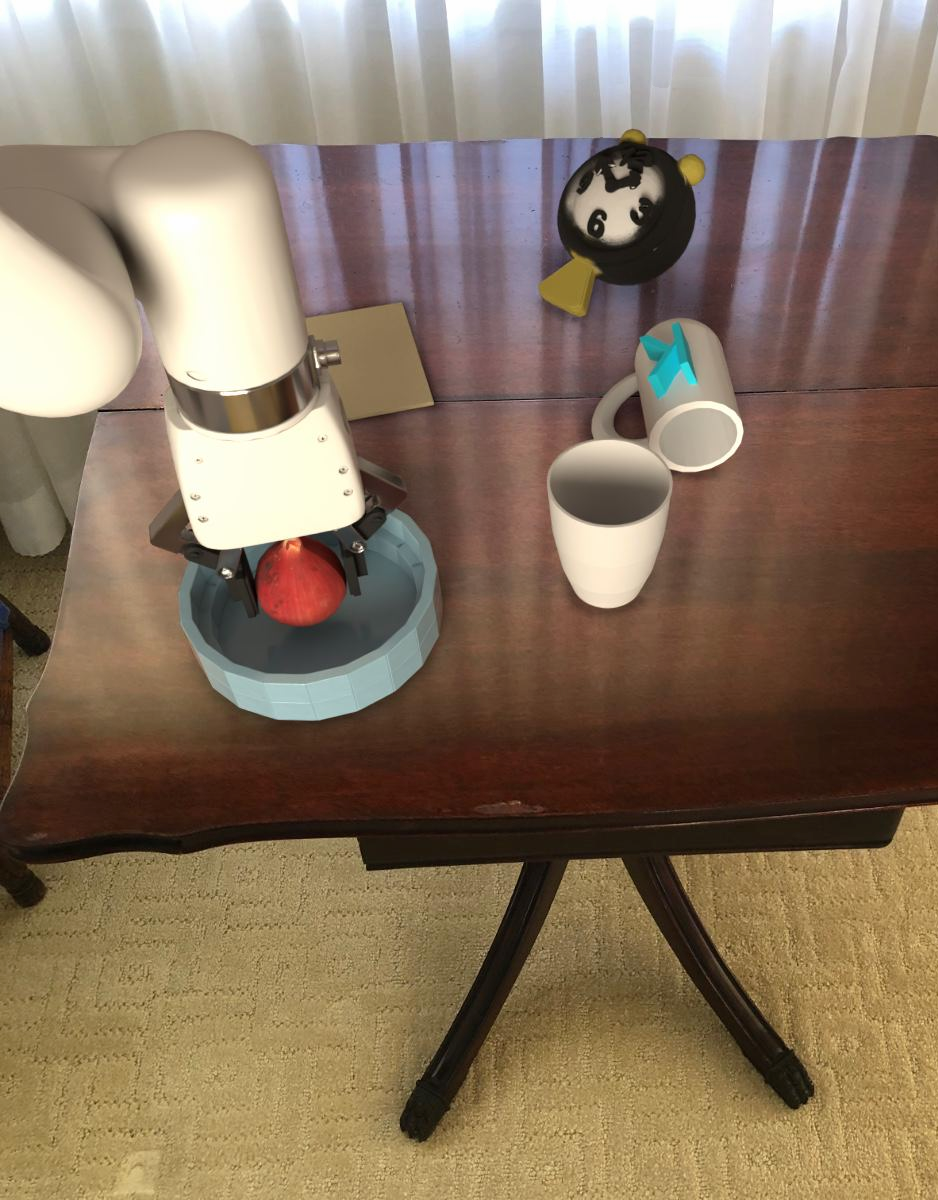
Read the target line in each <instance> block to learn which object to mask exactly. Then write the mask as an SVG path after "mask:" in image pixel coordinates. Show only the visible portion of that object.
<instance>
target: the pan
mask: <svg viewBox="0 0 938 1200" xmlns="http://www.w3.org/2000/svg"><path fill="white" fill-rule="evenodd" d="M368 496H369V495H367V494H364V497H365V498H366V497H368ZM386 518H387V520H386V522H385V523H384V524H383V525H382V526H381V527H380V528H379V529H378V530H377V531H376V532H375V533H374V534H373V535H372V536H371V537H370V538H369V539H368V540H367V541H366V542H367V548H366V550H365V551H364V556H365V561H366V566H367V571H368V575H366V576H361V577H358V581H359V586H360V590H361V595H360V596H355V597H354V595H350V591H349V587H348V582H347V587H346V596H345V597H344V599H343V601H342V603H341V604H340V606H339V608H338V609H337V611H336V612H335V613H334V614H333V615H332V616H330V617H329V618H328V619H326V620H325V621H323V622H320V623H317V624H315V625H312V626H301V627H296V626H291V625H286V624H282V623H280V622H277V621H276V620H275V619H273V618H272V617H271V616H269V615H268V614H267V613H265V612H264V610H263V609H262V607H261V605H260V603H259V601H258V607H259V614H257V617H252V618H248V616H247V613H246V610H245V607H244V604H243V601H237V602H233V601H232V598H231V595H230V592H229V590H228V587H227V584H226V581H225V579H221V578H219V577H218V576H217V575H216V570H213V569H211V568H208V567H205V566H202V565H199V564H197V563H194V562H191V561H189V560H188V562H187V564H186V568H185V570H184V573H183V576H182V579H181V582H180V584H179V588H178V591H177V601H178V613H179V614H178V615H179V624H180V626H181V629H182V631H183V633H184V635H185V638H186V639H187V641H188V645H189V647H190V649H191V650H192V653H193V655H194V657H195V659H196V661H197V663H198V665H199V666H200V668H201V671H202V672H203V673H204V675H205V677H206V679H207V681H208V682H209V684H210V686H211V687H212V689H214V690H215V691H217V693H219V694H220V695H222V696H223V697H224V698H225V699H227V700H228V701H230V702H231V703H233V704H234V705H235V706H236V707H237V708H239V709H243V710H245V711H248V712H251V713H254V714H257V715H260V716H263V717H267V718H269V719H273V720H276V721H277V720H278V721H312V722H313V721H314V722H315V721H322V720H326V719H332V718H334V717H339V716H343V715H347V714H351V713H356V712H359V711H361V710H363V709H365V708H367V707H369V706H370V705H372V704H374V703H377V702H378V701H380V700H382V699H384V698H386V697H388V696H389V695H392V694H393V693H394V692H396V691H398V689H400V688H401V687H402V686H403V685H404V684H405V683H406V682H407V681H408V680H409V679H410V678H411V677H413V676H414V674H416V673H417V672H418V671H419V670H420V669H421V668H422V667H423V666H424V664H425V662H426V660H427V659H428V656H429V655H430V653H431V651H432V649H433V648H434V646H435V644H436V642H437V640H438V638H439V637H440V631H441V624H442V618H443V617H442V616H443V609H444V604H443V597H442V596H443V595H442V591H441V590H442V589H441V584H440V578H439V570H438V566H437V562H436V558H435V555H434V552H433V548H432V544H431V541H430V539H429V538H428V536H426V534H425V533H424V532H423V530H422V529H421V528H420V527H419V526H418V524H417V523H416V521H415V520H414V519H413V518H412V517H411V516H410V515H408V514H407V513H405V512H403V511H402V510H400V509H398V507H397V508H396V509H395V510H394V511H393V512H392V513H389V514H388V515H387V516H386ZM306 537H309V538H312V539H315V540H318V541H320V542H322V543H324V544H325V545H326V546H328V547H329V548H330V549H332V550H333V551H334V552H335V553H336V554H337V556H338V558H339V560H340V562H341V564H342V566H343V568H344V565H343V560H342V556H341V551H340V546H339V541H338V538H337V537H336V536H335V535H334V534H333V532H332V531H331V530H330V531H325V532H320V533H316V534H311V535H306ZM276 542H277V541H274V542H269V543H264V544H258V545H253V546H247V547H244V550H245V553H246V556H247V559H248V562H249V565H250V568H251V572H252V575H253V578H254V579H255V574H256V569H257V564H258V561H259V559H260V557H261V556H262V555H263V554H264V552H265V551H266V550H267V549H268V548H269V547H270V546H272V545H273V544H274V543H276ZM344 570H345V569H344ZM257 600H258V598H257Z"/></svg>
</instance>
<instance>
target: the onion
mask: <svg viewBox="0 0 938 1200" xmlns="http://www.w3.org/2000/svg"><path fill="white" fill-rule="evenodd" d="M346 587H347V578H346V573H345V570H344V568H343V566H342V564H341V562H340V560H339V558H338V556H337V554H336V553H335V552H334V551H333V550H332V549H330V548H329V547H328V546H326V545H325V544H324V543H322V542H320V541H318V540H315V539H312V538H309V537H306V536H300V537H295V538H290V539H285V540H280V541H277V542H276V543H274V544H273V545H272V546H270V547H269V548H268V549H267V550H266V551H265V552H264V554H263V555H262V556H261V557H260V559H259V561H258V564H257V569H256V574H255V579H254V589H255V593H256V595H257V598H258V601H259V603H260V605H261V607H262V609H263V610H264V612H265V613H267V614H268V615H269V616H271V617H272V618H273V619H275V620H276V621H277V622H280V623H282V624H286V625H291V626H296V627H301V626H312V625H315V624H317V623H320V622H323V621H325V620H326V619H328V618H329V617H330V616H332V615H333V614H334V613H335V612H336V611H337V609H338V608H339V606H340V604H341V603H342V601H343V599H344V597H345V596H346Z"/></svg>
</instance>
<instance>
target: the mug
mask: <svg viewBox="0 0 938 1200" xmlns="http://www.w3.org/2000/svg"><path fill="white" fill-rule="evenodd" d="M639 340H640V341H639V343H638V346H637V349H636V352H635V355H634V371H635V372H633V373H631V374H629V375H628V376H627V375H626V376H625V377H624V378H623V379H621V380H620V381H618V382H617V383H616V384H614V385H613V386H612V387H611V388H610V389H609V390H608V391H607V392H606V393H605V394H604V395H603V396H602V398H601V400H600V401H599V402H598V404H597V406H596V407H595V410H594V412H593V416H592V418H591V434H592V437H593V439H600V438H618V439H625V440H629V441H633V442H636V443H639V444H641V445H644V446H646V447H648V448H649V449H651V450H653V451H654V452H655V453H657V454H658V455H659V456H660V457H661V458H662V459H663V460H664V461H665V463H666V464H667V466H668V467H669V469H670V470H672V471H677V472H681V473H697V472H701V471H706V470H710V469H712V468H715V467H717V466H719V465H721V464H723V463H725V462H726V461H727V460H728V459H729V458H731V457H732V456H733V455H734V454H735V453H736V451H737V449H738V448H739V447H740V445H741V444H742V440H743V436H744V427H743V423H742V422H743V421H742V418H741V414H740V410H739V407H738V402H737V397H736V395H735V392H734V387H733V383H732V379H731V375H730V371H729V368H728V364H727V361H726V360H727V359H726V357H725V353H724V349H723V345H722V343H721V341H720V338H719V337H718V335H717V334H716V333H715V332H714V331H713V330H712V328H710V327H709V326H707V325H706V324H704V323H702V322H701V321H698V320H695V319H692V318H686V317H676V318H670V319H667V320H664V321H661V322H660V323H657V324H656V325H654V326H653V327H651V328H650V329H649V330H648V331H647V332H646V333H645V335H643V336H639ZM637 392H639V397H640V398H639V399H640V403H641V409H642V414H643V419H644V426H645V431H646V437H644V438H637V439H636V438H635V439H632V438H631V439H630V438H625V437H623V436H621V435H619V433H617V431H616V429H615V426H614V419H615V416H616V414H617V412H618V410H619V408H620V407H621V405H623V403H624V402H625V401H626V400H627V399H628V398H629V397H631V396H633V395H634V394H635V393H637Z"/></svg>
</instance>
